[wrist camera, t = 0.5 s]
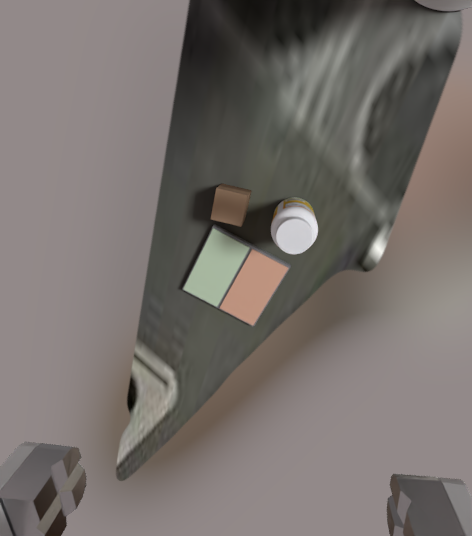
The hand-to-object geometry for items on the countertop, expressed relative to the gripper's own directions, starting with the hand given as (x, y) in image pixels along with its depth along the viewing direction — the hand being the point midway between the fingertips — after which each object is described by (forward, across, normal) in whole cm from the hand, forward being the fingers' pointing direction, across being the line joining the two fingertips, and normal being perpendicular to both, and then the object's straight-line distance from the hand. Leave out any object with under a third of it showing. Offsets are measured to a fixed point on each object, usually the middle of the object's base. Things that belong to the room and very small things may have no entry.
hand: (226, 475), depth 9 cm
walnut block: (+41, +6, 0) cm, 41 cm away
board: (+41, +6, +11) cm, 43 cm away
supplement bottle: (+41, -2, +2) cm, 41 cm away
